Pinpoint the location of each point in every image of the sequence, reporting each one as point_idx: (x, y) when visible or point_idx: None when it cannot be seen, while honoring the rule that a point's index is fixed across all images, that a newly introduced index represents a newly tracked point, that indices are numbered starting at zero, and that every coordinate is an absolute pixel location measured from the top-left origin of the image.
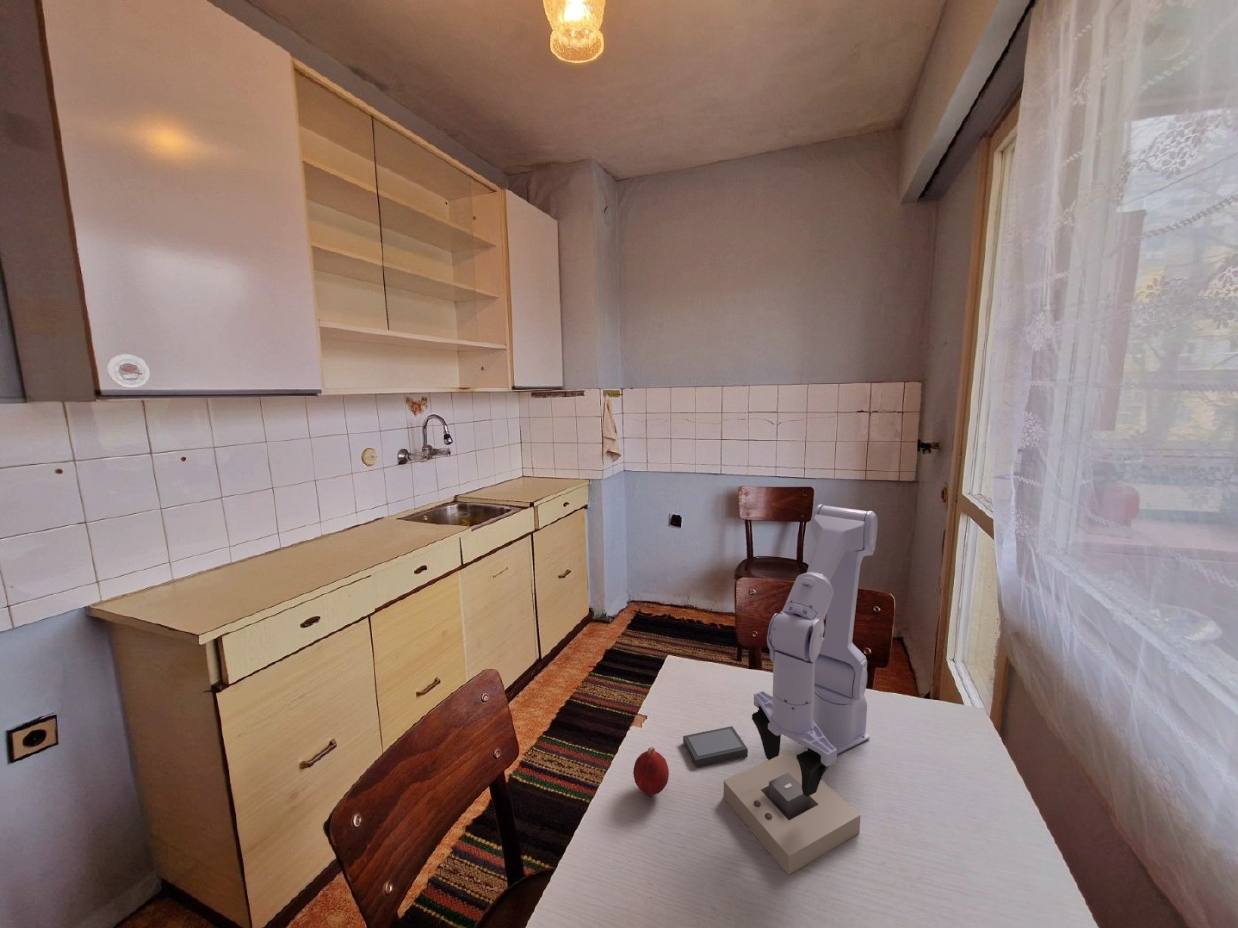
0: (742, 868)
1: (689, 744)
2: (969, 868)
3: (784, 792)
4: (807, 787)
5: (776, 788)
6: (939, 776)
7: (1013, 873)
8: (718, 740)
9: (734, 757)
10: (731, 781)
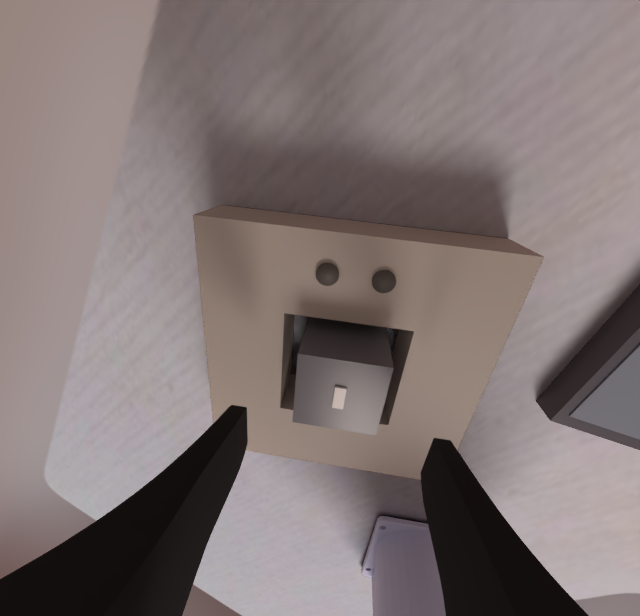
0: (296, 93)
1: None
2: (123, 463)
3: (329, 371)
4: (198, 439)
5: (356, 364)
6: (250, 559)
7: (102, 489)
8: None
9: (567, 372)
10: (514, 278)
